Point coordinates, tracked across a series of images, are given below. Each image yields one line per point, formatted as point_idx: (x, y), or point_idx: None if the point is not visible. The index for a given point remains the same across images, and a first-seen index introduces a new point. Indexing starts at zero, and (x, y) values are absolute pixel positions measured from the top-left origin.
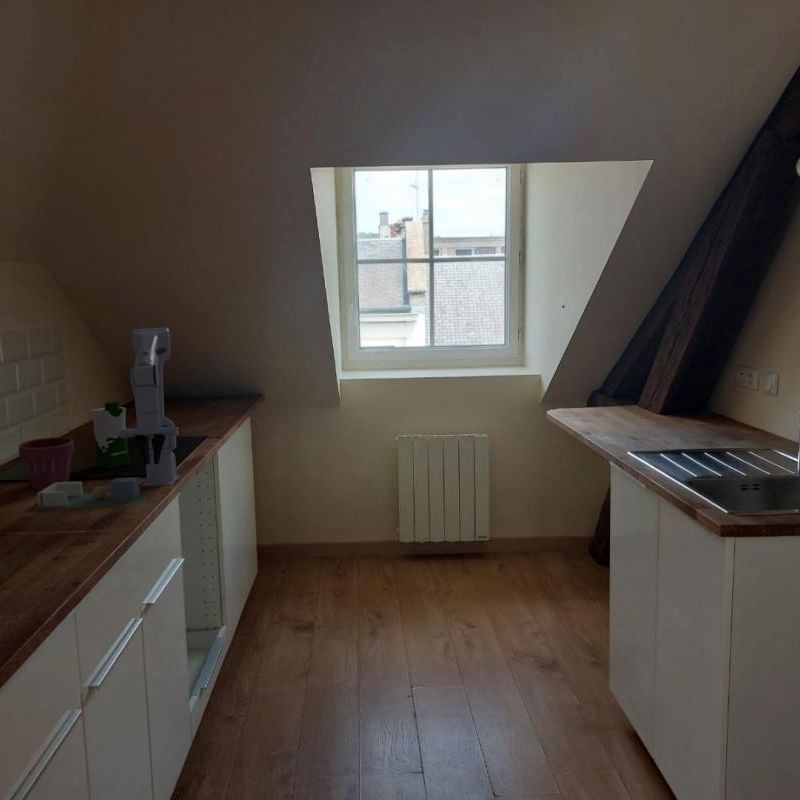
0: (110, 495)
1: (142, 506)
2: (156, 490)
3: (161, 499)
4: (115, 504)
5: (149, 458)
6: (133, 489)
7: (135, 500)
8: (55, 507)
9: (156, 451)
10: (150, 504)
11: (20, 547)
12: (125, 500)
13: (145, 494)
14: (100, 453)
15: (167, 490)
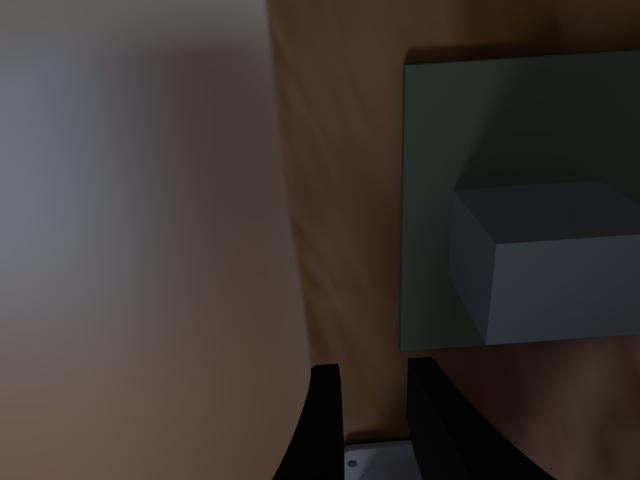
0: None
1: (369, 82)
2: (394, 383)
3: (300, 227)
4: (558, 98)
5: (416, 448)
6: (480, 217)
7: (448, 182)
8: None
9: (298, 462)
10: (330, 125)
11: None
12: (513, 184)
13: (424, 297)
14: None
15: None
